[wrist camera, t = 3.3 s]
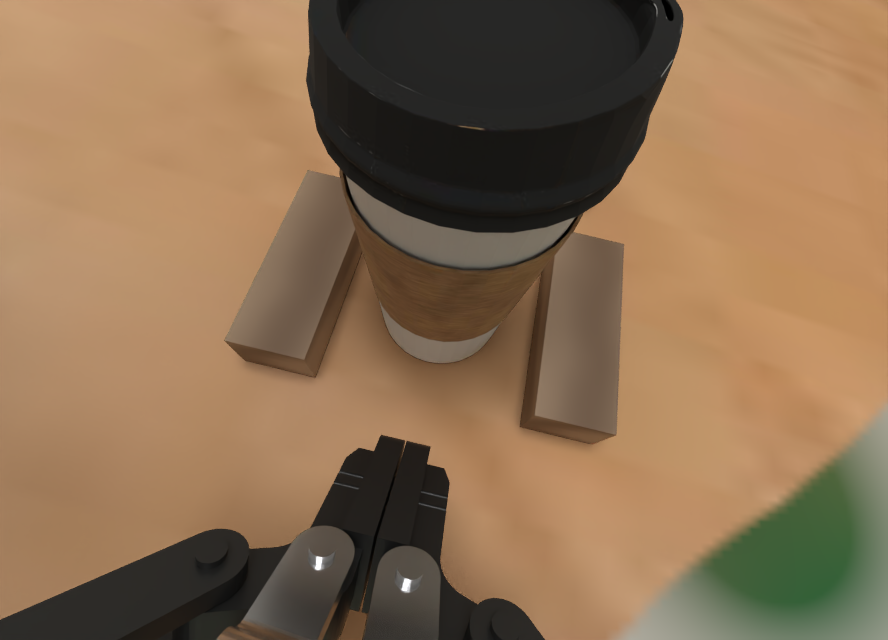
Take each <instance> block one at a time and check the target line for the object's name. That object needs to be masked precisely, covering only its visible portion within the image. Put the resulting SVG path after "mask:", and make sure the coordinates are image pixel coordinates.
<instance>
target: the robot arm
mask: <svg viewBox="0 0 888 640" xmlns="http://www.w3.org/2000/svg"><path fill="white" fill-rule="evenodd" d="M404 444H405V440H401V439H396V438H392V437H388V436H384V435H381V436H380V438H379V441H378V443H377V446H376V448H375V450H374V451H370V450H366V449H362V448H358V449H357V450H356V451H354V452H353V453H352V454H350V455H349V456H348V457H346V459H345V461H344V463H343V465H342V467H341V469H340V471H339V473H338V475H337V477H336V479H335V481H334V484H333V485H332V487H331V489H330V491H329V493H328V495H327V496H326V498H325V500H324V502H323V504H322V506H321V508H320V510H319V512H318V514H317V516H316V518H315V520H314V522H313V524H312V526H311V527H310V529H307V530H305V531H304V532H302V533H301V534H299V535H298V536H297V537H296V538H295V540H294V541H293V542H292V543H290V544H288V545H285V546H281V547H274V548H258V549H249V545H248V543H247V540H246V539H245V538H244V537H243V536H242V535H241V534H240V533H238V532H236V531H233V530H228V529H214V530H209V531H205V532H202V533H200V534H197V535H195V536H193V537H190V538H188V539H186V540H183V541H181V542H179V543H177V544H174V545H172V546H170V547H167V548H165V549H163V550H160V551H158V552H156V553H154V554H151V555H149V556H147V557H144V558H142V559H140V560H137V561H135V562H133V563H130V564H128V565H126V566H124V567H121V568H119V569H117V570H114V571H112V572H110V573H107V574H105V575H103V576H100V577H98V578H96V579H94V580H91V581H89V582H87V583H84V584H82V585H80V586H77V587H75V588H73V589H70V590H68V591H66V592H64V593H61V594H59V595H57V596H54V597H52V598H50V599H47V600H45V601H43V602H40V603H38V604H36V605H34V606H31V607H29V608H27V609H24V610H22V611H20V612H17V613H15V614H13V615H10V616H8V617H6V618H4V619H1V620H0V640H338V639H339V637H340V635H341V633H342V630H343V628H344V625H345V622H346V618H347V615H348V612H349V609H351V610H355V611H359V609H360V606H361V603H362V599H363V596H364V592H365V589H366V586H367V589H366V594H365V598H364V603H363V608H362V612H364V613H368V615H367V620H366V624H365V629H364V633H363V638H362V640H545V639H544V638H543V636H542V635H541V634H540V632H539V631H538V630H537V628H536V627H535V626H534V624H533V623H532V621H531V620H530V619H529V617H528V616H527V615H526V614H525V613H524V612H523V611H522V610H521V609H520V608H519V607H518V606H516V605H515V604H513V603H511V602H509V601H507V600H504V599H499V598H491V599H486V600H484V601H482V602H480V603H479V604H478V605H477V604H476V603H474V602H472V601H471V600H469V599H468V598H466V597H464V596H463V595H461V594H460V593H458V592H457V591H456V590H455V589H454V588H453V587H452V586H451V585H450V584H449V583H448V581H447V580H446V578H445V576H444V574H443V572H442V569H441V564H440V555H441V547H442V539H443V531H444V523H445V515H446V507H447V498H448V491H449V483H450V482H449V480H448V477H447V475H446V472H445V470H444V468H440V467H436V466H432V465H428V464H427V461H428V456H429V451H430V446H426V445H422V444H417V443H413V442H409V441H407V442H406V445H405V448H404ZM403 449H404V452H403ZM402 454H403V455H402ZM367 582H368V584H367Z"/></svg>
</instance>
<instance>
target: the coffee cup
mask: <svg viewBox="0 0 888 640" xmlns="http://www.w3.org/2000/svg"><path fill="white" fill-rule="evenodd" d="M308 22H309V49H310V55H309V59H308V68H307V77H306V82H307V87H308V92H309V97H310V102H311V106H312V108H313V111H314V117H315V122H316V127H317V131H318V133H319V135H320V137H321V140H322V142H323V144H324V146H325V148H326V150H327V152H328V154H329V155H330V157H331V158H332V159H333V160H334V161H335V163H336V164H337V165H338V166H339V168H340V173H339V174H340V179H341V184H342V188H343V193H344V196H345V199H346V202H347V206H348V209H349V212H350V215H351V218H352V221H353V224H354V227H355V230H356V233H357V236H358V239H359V242H360V245H361V248H362V251H363V255H364V258H365V261H366V264H367V267H368V270H369V273H370V276H371V279H372V282H373V285H374V288H375V291H376V294H377V296H378V298H379V302H380V305H381V309H382V313H383V317H384V320H385V324H386V326H387V328H388V331H389V333H390V335H391V337H392V338H393V339H394V341H395V342H396V343H397V344H398V345H399V346H400V347H401V348H402V349H403V350H404V351H405V352H407V353H409V354H410V355H412V356H414V357H416V358H418V359H421V360H424V361H427V362H433V363H451V362H456V361H460V360H463V359H465V358H467V357H470V356H472V355H473V354H474V353H476V352H477V351H479V350H480V349H481V348H482V347H483V346H484V345H485V344H486V342H487V341H488V340H489V339H490V337H491V336H492V335H493V333H494V332H495V330H496V329H497V327H498V326H499V325H500V323H501V322H502V321H503V319H504V318H505V317H506V316H507V315H508V314H509V313H510V311H511V310H512V309H513V308H514V306H515V305H516V304H517V303H518V301H519V300H520V299H521V297H522V296H523V295H524V294H525V292H526V291H527V290H528V289H529V287H530V286H531V285H532V284H533V282H534V281H535V280H536V279H537V277H538V276H539V275H540V273H541V272H542V271H543V270H544V268H545V267H546V266H547V265H548V263H549V262H550V261H551V260H552V258H553V257H554V256H555V255H556V253H557V252H558V251H559V249H560V248H561V247H562V246H563V244H564V243H565V242H566V241H567V239H568V238H569V237H570V236H571V234H572V233H573V231H574V230H575V228H576V226H577V224H578V223H579V221H580V219H581V217H582V215H583V213H584V212H585V211H587V210H588V209H590V208H592V207H593V206H595V205H596V204H598V203H600V202H601V201H602V200H603V199H604V198H605V197H606V196H607V195H608V194H609V193H610V192H611V191H612V190H613V189H614V188H615V187H616V186H617V185H618V184H619V182H620V181H621V179H622V177H623V175H624V173H625V171H626V169H627V167H628V166H629V165H630V164H631V162H632V161H633V160H634V158H635V156H636V154H637V152H638V151H639V149H640V147H641V145H642V143H643V142H644V139H645V136H646V131H647V126H648V121H649V117H650V114H651V112H652V110H653V107H654V105H655V103H656V101H657V99H658V96H659V94H660V92H661V90H662V87H663V85H664V83H665V81H666V78H667V76H668V73H669V71H670V69H671V66H672V63H673V60H674V58H675V55H676V53H677V49H678V46H679V42H680V38H681V34H682V28H683V13H682V10H681V8H680V6H679V4H678V3H677V2H676V0H310V1H309V10H308Z"/></svg>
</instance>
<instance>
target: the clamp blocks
mask: <svg viewBox="0 0 888 640" xmlns="http://www.w3.org/2000/svg"><path fill="white" fill-rule="evenodd" d="M361 253H362V248H361V245H360V242H359V239H358V236H357V233H356V230H355V227H354V224H353V221H352V218H351V215H350V212H349V209H348V206H347V202H346V199H345V196H344V193H343V188H342V184H341V179H340V178H339V177H335V176H331V175H327V174H322V173H318V172H314V171H310V170H308V171H307V173H306V175H305V177H304V179H303V181H302V183H301V185H300V187H299V189H298V191H297V193H296V195H295V197H294V199H293V201H292V204H291V206H290V208H289V210H288V212H287V214H286V216H285V218H284V220H283V222H282V224H281V226H280V228H279V230H278V232H277V234H276V236H275V238H274V240H273V242H272V244H271V246H270V248H269V250H268V252H267V255H266V257H265V259H264V261H263V263H262V265H261V267H260V269H259V271H258V273H257V275H256V277H255V279H254V281H253V283H252V285H251V287H250V289H249V291H248V293H247V295H246V297H245V299H244V301H243V303H242V306H241V308H240V310H239V312H238V314H237V316H236V318H235V320H234V322H233V324H232V326H231V328H230V330H229V332H228V334H227V336H226V338H225V340H224V341H225V342H226V343H227V344H228V345H229V346H230V347H231V348H232V349H233V350H234V351H235V352H237V353H238V354H239V355H240V356H241V357H242V358H243V359H244V360H245V361H249V362H254V363H258V364H262V365H266V366H270V367H274V368H278V369H283V370H287V371H291V372H295V373H299V374H303V375H307V376H311V377H316V374H317V371H318V369H319V366H320V363H321V361H322V358H323V355H324V353H325V350H326V347H327V345H328V342H329V339H330V336H331V334H332V331H333V328H334V326H335V323H336V320H337V318H338V315H339V312H340V309H341V307H342V304H343V301H344V299H345V296H346V293H347V291H348V288H349V285H350V283H351V280H352V277H353V274H354V272H355V269H356V266H357V264H358V261H359V258H360V256H361ZM623 255H624V244H621V243H617V242H613V241H609V240H604V239H600V238H596V237H592V236H587V235H583V234H579V233H574V232H573V233H572V234H571V236H570V237H569V238H568V239H567V241H566V242H565V243H564V244H563V246H562V247H561V248H560V249H559V251H558V252H557V253H556V255H555V256H554V257H553V258H552V260H551V261H550V262H549V263H548V265H547V266H546V267H545V268H544V270H543V271H542V272H541V280H540V287H539V294H538V301H537V308H536V315H535V322H534V330H533V337H532V344H531V351H530V358H529V365H528V373H527V380H526V387H525V394H524V401H523V408H522V415H521V423H520V427H523V428H527V429H531V430H535V431H539V432H543V433H548V434H552V435H556V436H560V437H564V438H568V439H572V440H577V441H581V442H585V443H589V444H594V443H597V442H599V441H602V440H605V439H607V438H610V437H612V436H615V435H616V432H617V407H618V381H619V356H620V331H621V305H622V280H623Z"/></svg>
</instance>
